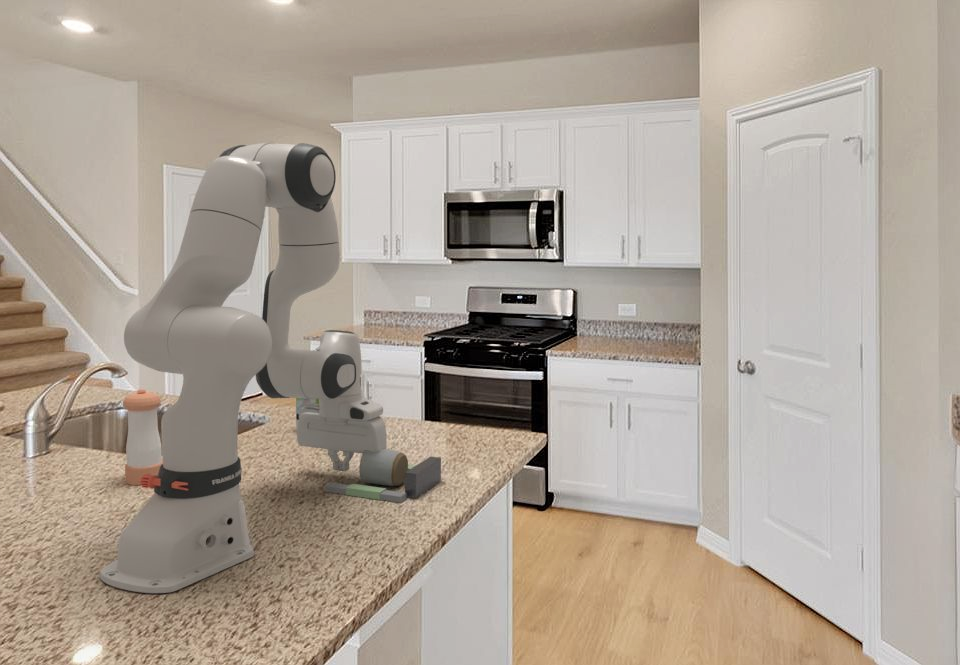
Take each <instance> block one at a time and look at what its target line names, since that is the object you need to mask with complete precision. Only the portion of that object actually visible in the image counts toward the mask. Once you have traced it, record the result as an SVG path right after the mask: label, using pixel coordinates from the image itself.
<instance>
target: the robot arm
mask: <svg viewBox="0 0 960 665" xmlns="http://www.w3.org/2000/svg"><path fill="white" fill-rule="evenodd" d="M335 168H336V167H335V165H334V163H333V160H332V159H331V157H330V156H329V154H328V152H326V150H325V149H324V148H322V147H319V146H317V145H315V144H314V145H313V144H309V143H305V142H303V143H301V142H300V143H297V144H295V143H293V144H292V143H276V142H261V143H255V144H254V143H253V144H249V145H246V144H240V145H235V146H232V147H230V148H227V149H225V150H224V151H223V152H222V153H221V154H220V155H219V156H218V157H217V158H215V159H213V160H212V161H211V162H210V163H209V165H208V167H207V168H206V170H205V172H204V174H203V176H202V178H201V181H200V183H199V185H198V188H197V190H196V192H195V195H194V198H193V201H192V205H191V208H190V212H189V215H188V220H187V224H186V227H185V230H184V235H183V238H182V241H181V245H180V248H179V251H178V255H177V257H176V259H175V261H174V264H173V266H172V268H171V270H170V271H169V273H168V275H167V277H166V279H165V280H164V281H163V283H162V284H161V287H159V289H158V290H157V292H156V293H155V295H154V296H153V297H152V298H151V299H150V300H149V302H147V304H146V305H144V306H143V307H141V308H140V309H138V310H137V311H136V312H135V313H133V314H132V315H131V317H130V318H129V319H128V321H127V323H126V325H125V327H124V331H123V344H124V347H125V350H126V352H127V354H128V355H129V357H130V358H131V359H133V361H135V362H137V363H139V364H141V365H143V366H145V367H147V368H149V369H152V370H154V371H156V372H157V371H158V372H161V373H169V374H177V375H182V376H183V377H182V378H183V379H182V380H183V382H182V387H181V390H180V394H179V397H178V399H177V401H176V402H175V403H173V404H172V405H171V406H170V407H168V408H167V409H166V410H165V411H164V413H163V415H162V416H161V422H160V424H161V425H160V426H161V430H160V431H161V451H162V461H163V464H162V465H161V466H160V469H159V472H158V476H156V475H153V476H152V475H149V474H144V475H143V476H142V478H141V479H140V481H141V482H140V483H142V484H140V485H139V486H141V487H142V488H145V489H147V488H149V489H153V492H154V493H153V495H152V496H151V497H150V498H149V499H148V501H147V502H146V503H145V504H144V506H143V507H142V508H141V509H140V510H139V511H138V513H137V514H135V517H133V518H132V520H131V521H130V522H129V523H128V525H126V527H125V528H124V529H123V530H122V532H121V533H120V536H119V541H118V548H117V559H115V560H114V561H112V562H110V563H109V564H107V565H106V566H104V567H103V568H101V569H100V570H99V571H100V572H99V578H100V580H101V581H102V582H104V583H105V584H106V585H108V586H111V587H113V588H117V589H121V590H125V591H129V592H130V591H131V592H137V593H145V594H165V593H173V592H176V591H179V590H181V589H183V588H185V587H188V586H190V585H192V584H194V583H197V582H199V581H202V580H203V579H206V578H208V577H211V576H213V575H215V574H217V573H219V572H221V571H224V570H226V569H228V568H230V567H233V566H235V565H237V564H239V563H241V562H244V561H246V560H248V559H251V558H253V557H254V556H255V550H254V547H253V546H252V545H251V544H252V540H251V538H250V534H249V530H248V521H247V514H246V507H245V501H244V499H243V497H242V493H241V489H240V483H241V481H242V472H243V468H242V462H241V458H240V457H239V456H238V455H239V453H238V451H239V449H238V447H239V446H238V437H239V436H238V432H239V430H238V425H239V424H238V420H239V411H240V406H241V402H242V398H243V397H244V393H245V391H246V389H247V387H248V386H249V385H248V384H249V383H250V382H251V380H252V379H253V378H254V377H255V381H256V383H257V386H258V387H259V388H260V389H261V391H262V392H263V393H264V394H265V395H266V396H267V397H269V398H270V399H289V398H294V399H296V398H304V399H319V404H311V403H305V404H304V405H302V406H301V407H300V408H299V422H298V429H297V428H296V441H297V443H298V445H299V446H300V447H307V448H313V449H314V448H316V449H322V450H323V449H324V450H327V455H328V457H329V459H330V460H331V462H332V470H333V471H339V472H345V473H346V472H348V471H349V469H350V462H351V460H352V459H353V457H354V454H355V453H356V454H363V452H364V451H365V450H369V451H372V452H379V451H380V450H381V449H384V448H386V449H387V429H386V422H385V420H384V419H383V418H382V417H381V416H383V414H384V407H383V405H381V404H380V403H377V402H375V401H373V400H370V399H368V398H367V397H365V396H363V395H362V394H363V393H362V392H363V391H362V385H361V386H360V376H361V375H362V371H363V370H362V369H363V368H362V352H361V351H362V350H361V346H360V345H361V343H360V340H359V336H358V334H356V333H355V332H353V331H350V330H340V329H339V330H337V329H329V330H325V331H322V333H321V335H320V342H319V346H318V347H317V348H315V349H312V350H311V349H294V348H291V347H290V345H289V333H290V332H289V331H290V319H291V318H290V317H291V316H290V315H291V308H292V306H293V303H294V302H295V301H296V300H297V299H298V298H299V297H300V296H303V295H305V294H308V293H311V292H312V291H313V292H314V291H315V290H318V289H319V288H322V287H323V286H325V285H326V284H328V283H329V282H330V281H332V279H333V278H334V276H335V275H336V274H337V273H338V270H339V267H340V260H341V258H340V255H341V254H340V251H341V250H340V242H339V241H340V240H339V228H338V222H337V217H336V212H335V207H334V204H333V199H332V195H333V192H334V190H335V188H336V187H335V186H336V181H337V180H336V169H335ZM266 207H267V208H273V209H275V210H276V212H277V214H278V222H277V224H278V225H277V226H278V227H277V228H278V247H279V251H278V252H279V253H278V259H277V263H276V266H275V268H274V269H273V270H271V271H270V272H269V273H268V275H267V278H266V281H265V284H264V285H265V286H264V292H263V301H262V314H261V316H259V315H257V314H254V313H252V312H249V311H246V310H243V309H239V308H236V307H233V306H223V305H224V303H225V302H226V300H227V299H228V297H229V296H230V295H231V294H232V293H233V292H234V291H235V290H237V289H238V288H240V287H241V286H242V285H244V284H245V283H246V282H247V281H248V280H249V279H250V277H251V275H252V272H253V268H254V265H255V264H254V263H255V259H256V254H257V251H258V247H259V243H260V238H261V234H262V230H263V229H262V228H263V224H264V219H265V213H266V212H265V211H266ZM361 377H362V376H361ZM304 407H305V408H304ZM339 452H342V456H343V457H344V458H343V460H341V459H340V456H339V455H338V453H339Z"/></svg>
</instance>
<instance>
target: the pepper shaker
mask: <svg viewBox="0 0 960 665" xmlns="http://www.w3.org/2000/svg"><path fill="white" fill-rule="evenodd" d="M161 403H162V400H161V398H160V397H159V395H158V394H157V393H154V392H150V391H147V390H146V389H144V388H139V389H138V390H137V392H133V393H130V394H128V395H126V397H125V398H124V399H123V403H122V405H123V407H124V409H125V410H126V411H127V427H128V428H127V430H128V431H127V438H126V446H125V453H126V454H125V455H126V463H125V465H124V472H125V473H124V475H125V478H124V479H125V484H128V485H130V486H141V485H140V484H142V483H140V482H141V481H140V479H141V478H142V476H143V475H144V474H149V475H152V476H153V475H156V476H158V472H159V469H160V466H161V465H162V464H163V458H162V440H161V438H160V432H159V426H158V425H159V424H158V423H159V421H158V408H159V407H160V405H161Z"/></svg>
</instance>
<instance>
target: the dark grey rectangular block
mask: <svg viewBox="0 0 960 665" xmlns="http://www.w3.org/2000/svg"><path fill="white" fill-rule="evenodd" d="M414 466H415V467H413V468H411V469H410V470H408V471H407V472H405V480H404V486H405V487H404V493H406V498H407V497H408V498H407V499H414V498H417V499H418V498H420V497H421V496H422V495H423V494H425V493H426V492H428V491H429V490H430V489H431V487H432V486H433V487H435V486H436V485H437V484H439V483H440V482H441V481H442V457H440V456H439V457H437V456H429V457H427V458H426V459H424V460H422V461H421V462H419V463H418V464H416V465H414ZM439 481H440V482H439ZM438 482H439V483H438ZM435 484H436V485H435ZM434 485H435V486H434ZM433 487H432V488H433ZM428 489H429V490H428ZM427 490H428V491H427ZM424 492H425V493H424ZM421 494H422V495H421ZM420 495H421V496H420Z"/></svg>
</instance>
